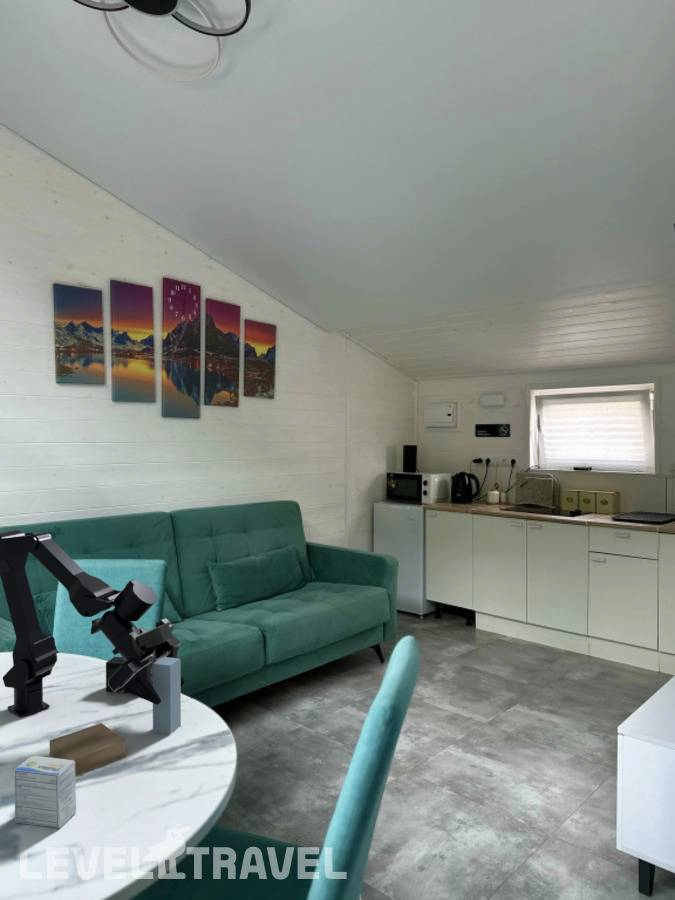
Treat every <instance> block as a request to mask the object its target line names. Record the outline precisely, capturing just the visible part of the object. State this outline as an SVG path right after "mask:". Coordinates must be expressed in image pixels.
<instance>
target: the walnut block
mask: <svg viewBox="0 0 675 900" xmlns="http://www.w3.org/2000/svg"><path fill="white" fill-rule="evenodd" d="M124 757H127V739H125V738H123V737H122V736H120V735H119V734H118V733H116V732H115V731H114V730H112V729H111V728H109V727H107V726H106V725H105V724H104V723H102V722H100V723H97V724H94V725H92V726H89V727H85V728H83V729H79V730H76V731H74V732H71V733H67V734H65V735H62V736H59V737H57V738H53V739H50V740H49V758H58V759H66V760H74V761H75V777H76V776H79V775H81V774H83V773H86V772H89V771H91V770H93V769H94V770H95V769H96V768H99V767H102V766H103V765H106V764H109V763H111V762H113V761H114V762H115V761H117V760H120V759H123V758H124Z"/></svg>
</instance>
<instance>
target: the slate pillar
mask: <svg viewBox="0 0 675 900" xmlns="http://www.w3.org/2000/svg"><path fill="white" fill-rule="evenodd" d="M181 660H182V659H181V658H178V657H177V658H169V657H162V658H161V659H159V660H157V661H156V662H154V663H153V688H154V690H155V691H156V692H157V694H158V695H159V697H160V699H161V702H160V703H159V704H158V705H156V704H154V703H152V733H154V732H156V733H157V734H161V733H164V734H163V735H168V734H171V733H172V732H173V733H175V732H176V731H177V730H178V729H179V728H180V727H181V725H182V719H181V718H182V715H181V714H182V713H181V712H182V711H181V710H182V709H181V707H182V705H181V699H182V698H181V697H182V694H181V692H182V687H181V673H182V671H181V669H182V668H181V667H182V666H181V665H182V664H181V663H182V662H181ZM178 727H179V728H178ZM177 728H178V729H177ZM176 729H177V730H176ZM175 730H176V731H175ZM174 731H175V732H174ZM156 733H155V734H156ZM173 733H172V734H173ZM172 734H171V735H172Z"/></svg>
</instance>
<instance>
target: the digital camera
mask: <svg viewBox="0 0 675 900" xmlns="http://www.w3.org/2000/svg"><path fill="white" fill-rule="evenodd" d="M124 662H126V661H125V660H124V659H123V657H122V656H113V657H112V658H110V659H109V660H108V661H106V662H105V692H109V693H120V694H122V693H123V694H127V693H126V692H120V691H119V690H120V689H121V688H122V687H123V686H122V687H121V688H120V689H118V690H116V691H115V692H114V691H113V690H112V689H111V688H110V686H109V685H108V678H109V677H110V676H111V675H112V674H113V673H114V671H115V670H116V669H117V668H118V667H119V666H120V665H121V664H123V663H124ZM141 664H142V663H141ZM144 668H146V678H147V680H148V681H149V682H150V684H151V685H152V687H153V663H150V664H148V665H147V666H145V667H144ZM142 669H143V668H142ZM142 669H140V670H142Z"/></svg>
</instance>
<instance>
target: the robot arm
mask: <svg viewBox="0 0 675 900" xmlns="http://www.w3.org/2000/svg"><path fill="white" fill-rule="evenodd" d="M29 553H30V554H32V556H34V558H35V559H36V560H37V561H38V562H39V563H40V564H41V565H42V566H43V567H44V568H45V569H46V570H47V571H48V572H49V573H51V575H52V576H53V577H54V578H55V579H56V580H57V581H58V582H59V583H60V584H61V586H63V587H64V588H65V589H66V591H67V593H68V597H69V598H68V599H69V602H70V603H71V605H72V606H73V607H74V609H75V610H76V612H77V613H78V614H79V615H80V616H81V617H83V618H92V617H94V616H96V615H98V614H101V613H103V612H104V613H103V614H102V615H101V616H100V617H98V618H95V619H93V620H91V627H90V634H91V635H94V634H96V633H99V632H101V633H102V634H103V635H104V637H105V638H106V639H107V640H108V641H109V643H110V644H112V646H113V648H114V649H113V650H111V652H112V654H113V655H114V656H116V655H118V654H119V655H120V657H123V659H124V660H125V661H126V662H124V663H123V664H121V665H120V666H119V667H118V668H117V669H116V670H115V671H114V673H113V674H112V675H111V676H110V677H109V678H108V685H109V686H110V688H111V689H112V690H113V691H114V692H113V693H116V692H115V691H116V690H118V689H120V688H121V687H122V686H123V687H122V688H121V689H120V690H119V691H120V692H126V693H125V694H129V695H131V696H132V695H133V696H135V697H138V698H141V699H143V700H145V701H147V702H150V703H152V704H153V703H154V704H156V705H158V704H159V703H160V702H161V699H160V697H159V695H158V694H157V692H156V691H155V690H154V688H153V687H152V685H151V684H150V682H149V681H148V680H147V678H146V668H144V667H145V666H147V665H148V664H150V663H154V662H156V661H157V660H159V659H161V658H162V657H169V658H178V651H180V646H179V645H180V644H181V642H180V640H179V639H178V638H177V637H176V636H174V634H173V631H174V628H175V627H174V624H173V623H172V622H171V621H170V620H169V619H167V618H166V617H164V618H163V619H160V620H158V621H156V622H155V627H154V628H152V629H149V630H147V629H146V628H145V627H144V626H141V627H139V628H138V626H136V624H135V623H134V622H138V621H139V620H141V619H142V617H143V616H144V615H145V614H146V613H147V612H148V611H149V610H150V609H151V608H152V607H153V606H154V605H155V604H156V603H157V601H158V596H157V593H156V592H155V591H156V590H154V588H152V587H151V586H149V585H147V584H145V583H142V582H139V581H138V579H137V578H134V579H132V580H129V581H128V583H126V585H125V586H124V588H123V589H122V590H117V589H114V588H112V586H110V585H109V584H108V583H107V582H105V581H104V580H102V579H100V578H99V577H97V576H93V575H91V574H89V573H87V572H86V571H84V569H82V567H80V565H79V564H78V563H77V562H76V561H74V559H72V557H71V556H70V555H69V554H68V553H66V551H65V550H63V548H62V547H61V546H60V545H59V544H58V543H56V542H55V541H54V540H53V537H52V535H51V534H50V533H49V532H46V531H40V532H22V531H20V530H19V529H10V530H5V531H0V579H1V584H2V587H3V591H4V596H5V599H6V603H7V607H8V611H9V615H10V620H11V623H12V627H13V630H14V635H15V643H14V647H13V651H12V653H11V654H12V667H11V668H10V669H9V670H8V671H7V672H6V673H5V674H4V675H3V676H2V681H3V685H4V687H5V688H11V689H13V704H12V705H9V706H7V710H8V711H9V712H10V713H11V712H12V713H13V714H14V715H15V716H17V717H19V718H22V717H25V716H28V715H31V714H33V713H34V714H35V713H37V712H41V711H44V710H46V709H50V704H49V703H47V702H46V701H44V691H43V690H44V683H43V681H44V680H43V679H44V678H46V677H48V676H50V675H51V674H52V671H53V668H54V667H55V665H56V663H57V662H58V654H60V652H59V650H58V649H57V646H56V641H55V637H54V635H50V636H48V635H46V634H45V633H44V632H43V631H42V629H41V626H40V621H39V618H38V614H37V611H36V605H35V602H34V599H33V593H32V590H31V587H30V586H31V585H30V583H29V579H28V575H27V572H26V564H27V561H28V558H29ZM112 607H114V608H113V609H112V610H111V608H112ZM141 663H142V664H141ZM142 668H143V669H142ZM140 669H142V670H140ZM185 684H186V682H185V679H184V677H183V673H182V672H181V688H182V687H184V686H185Z"/></svg>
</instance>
